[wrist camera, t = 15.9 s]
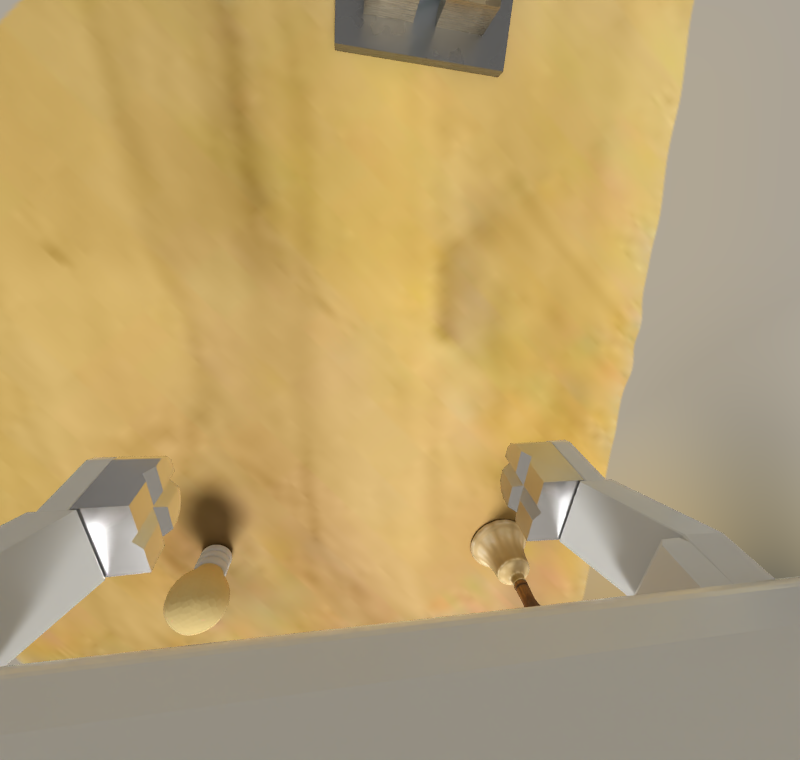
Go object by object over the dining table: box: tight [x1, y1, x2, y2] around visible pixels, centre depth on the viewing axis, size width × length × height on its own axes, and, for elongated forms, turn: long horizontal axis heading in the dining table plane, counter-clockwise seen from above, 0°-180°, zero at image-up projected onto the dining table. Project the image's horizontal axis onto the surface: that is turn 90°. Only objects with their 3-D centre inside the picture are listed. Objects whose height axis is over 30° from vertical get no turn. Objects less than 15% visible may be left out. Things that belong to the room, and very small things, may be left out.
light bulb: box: [164, 545, 232, 635], centre depth 43 cm, size 6×6×10 cm
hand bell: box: [471, 519, 540, 607], centre depth 46 cm, size 8×8×16 cm
